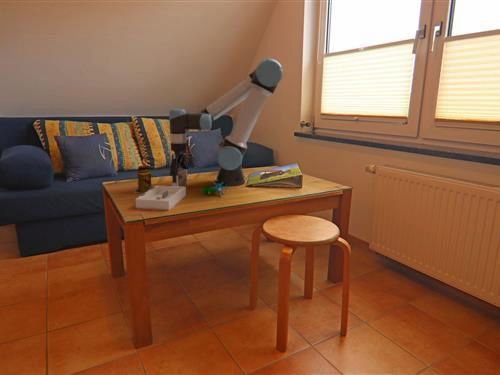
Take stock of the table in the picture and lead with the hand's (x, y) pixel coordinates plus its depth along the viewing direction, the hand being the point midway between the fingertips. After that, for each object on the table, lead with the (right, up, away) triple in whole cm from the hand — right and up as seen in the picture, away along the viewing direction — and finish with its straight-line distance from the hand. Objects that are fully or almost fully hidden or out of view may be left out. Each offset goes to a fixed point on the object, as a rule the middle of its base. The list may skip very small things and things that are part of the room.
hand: (180, 185), depth 170 cm
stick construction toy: (+18, -5, -9) cm, 21 cm away
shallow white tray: (-4, -7, -20) cm, 21 cm away
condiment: (-17, -3, -4) cm, 18 cm away
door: (0, -2, 0) cm, 2 cm away
